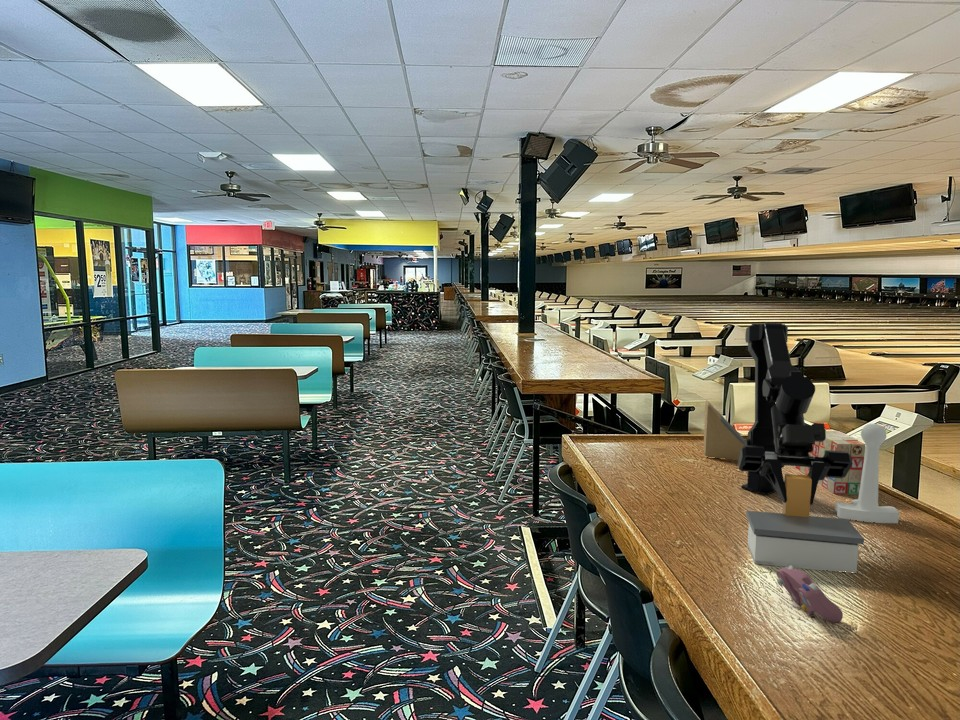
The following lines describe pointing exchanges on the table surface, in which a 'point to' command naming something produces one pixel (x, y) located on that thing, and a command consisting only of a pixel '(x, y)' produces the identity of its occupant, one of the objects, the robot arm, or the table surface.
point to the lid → (802, 518)
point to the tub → (802, 553)
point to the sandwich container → (720, 436)
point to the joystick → (869, 484)
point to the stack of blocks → (853, 477)
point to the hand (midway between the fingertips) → (798, 502)
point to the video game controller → (808, 594)
